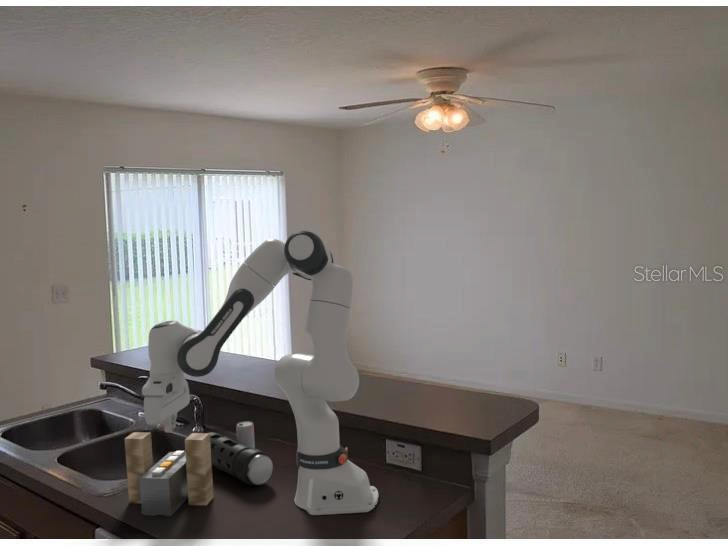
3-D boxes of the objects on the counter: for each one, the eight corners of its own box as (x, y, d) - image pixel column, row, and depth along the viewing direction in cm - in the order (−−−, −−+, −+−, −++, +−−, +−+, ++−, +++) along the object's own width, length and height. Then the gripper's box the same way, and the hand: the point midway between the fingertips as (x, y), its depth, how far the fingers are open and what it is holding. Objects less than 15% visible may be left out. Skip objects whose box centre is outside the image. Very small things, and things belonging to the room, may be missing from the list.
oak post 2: (213, 497, 176) (209, 433, 174) (206, 505, 171) (202, 439, 169) (196, 496, 177) (192, 433, 175) (188, 504, 172) (184, 439, 170)
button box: (198, 486, 183) (196, 449, 182) (171, 516, 166) (168, 474, 165) (172, 485, 185) (169, 448, 184) (142, 515, 167) (139, 474, 166)
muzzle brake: (223, 459, 204) (222, 427, 203) (276, 484, 183) (274, 449, 182) (196, 468, 197) (194, 435, 196) (247, 495, 177) (246, 458, 176)
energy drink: (241, 457, 204) (239, 420, 203) (257, 458, 203) (255, 421, 202) (235, 464, 199) (233, 426, 198) (252, 464, 198) (250, 426, 197)
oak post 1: (155, 495, 178) (150, 432, 177) (146, 503, 174) (142, 438, 172) (138, 494, 179) (133, 432, 177) (129, 503, 174) (124, 438, 173)
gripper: (173, 371, 185) (175, 418, 186) (138, 390, 165) (141, 443, 166) (194, 371, 184) (196, 418, 185) (161, 391, 164) (164, 443, 165)
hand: (170, 430), depth 175 cm, fingers closed
